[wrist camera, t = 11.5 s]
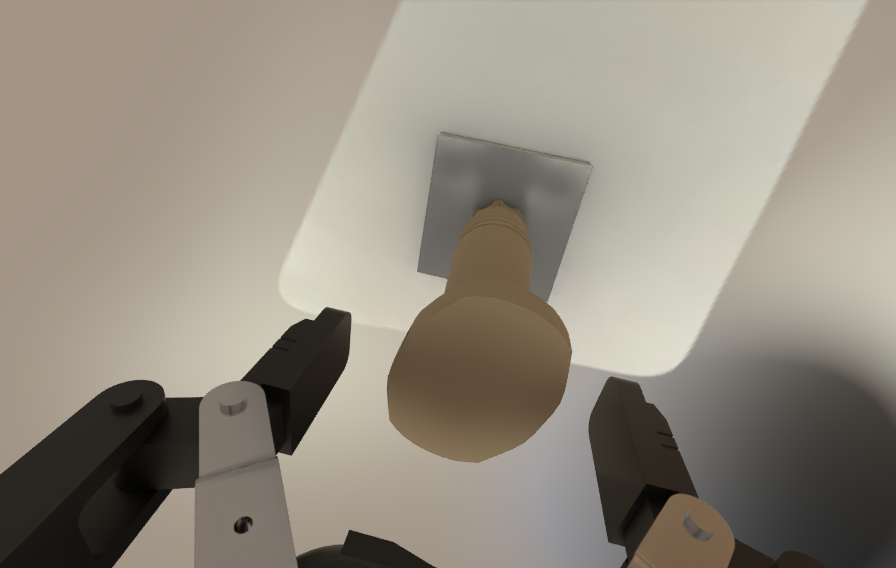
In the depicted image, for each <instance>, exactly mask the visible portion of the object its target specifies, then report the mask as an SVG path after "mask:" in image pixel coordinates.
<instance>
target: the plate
mask: <svg viewBox="0 0 896 568" xmlns="http://www.w3.org/2000/svg"><path fill="white" fill-rule="evenodd" d="M592 168H593V166H592V165H591V164H590V163H588V162H583V161H578V160H574V159H569V158H564V157H559V156H554V155H549V154H545V153H540V152H535V151H530V150H525V149H520V148H515V147H511V146H506V145H501V144H496V143H491V142H486V141H481V140H477V139H472V138H467V137H462V136H457V135H452V134H448V133H443V132H441V133H440V134H438V138H437V144H436V151H435V158H434V164H433V171H432V177H431V184H430V191H429V197H428V204H427V210H426V217H425V224H424V230H423V237H422V243H421V250H420V257H419V263H418V270H417V272H420V273H425V274H429V275H433V276H438V277H442V278H446V279H448V276H449V271H450V267H451V262H452V258H453V254H454V250H455V248H456V245H457V243H458V241H459V238H460V236H461V234H462V232H463V230H464V228H465V227H466V225H467V224H468V222H469V221H470V219H471V217H472V215H473V214H474V213H475V212H476V211H477V210H478V209H480V210H481V209H484V208H487V207H488V206H490V205H491V204H492V203H493V202H494V201H495V200H502V201H503V202H504V204H506V205H507V206H508V207H511V208H514V209H516V208H517V209H518V210H519V211H520V212H521V214H522V216H523V220H522V221H523V222H524V224H525V226H526V229H527V231H528V235H529V239H530V244H531V253H532V270H531V281H530V292H532V293H533V294H535V295H537V296H538V297H540V298H541V299H543V300H544V301H546V302H548V299H549V296H550V293H551V290H552V287H553V284H554V281H555V278H556V275H557V272H558V269H559V266H560V263H561V260H562V257H563V254H564V251H565V248H566V245H567V242H568V239H569V236H570V233H571V230H572V227H573V224H574V221H575V218H576V215H577V212H578V209H579V206H580V203H581V200H582V197H583V194H584V191H585V188H586V185H587V182H588V179H589V177H590V174H591V171H592Z"/></svg>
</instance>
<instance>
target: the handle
mask: <svg viewBox="0 0 896 568" xmlns="http://www.w3.org/2000/svg"><path fill="white" fill-rule="evenodd" d="M522 220H523V216H522V214H521V212H520V211H519V210H518V209H517V208H516V209H514V208H511V207H508V206H507V205H506V204H504V202H503V201H502V200H495V201H494V202H493V203H492V204H491V205H490V206H488V207H487V208H484V209H481V210H480V209H478V210H477V211H476V212H475V213H474V214H473V215H472V217H471V219H470V221H469V222H468V224H467V225H466V227H465V228H464V230H463V232H462V234H461V236H460V238H459V241H458V243H457V245H456V248H455V250H454V254H453V258H452V262H451V267H450V271H449V276H448V280H447V285H446V289H445V293H444V294H443V295H441V296H440V297H438V298H437V299H435V300H434V301H433V302H432V303H430V304H429V305H428V306H427V307H426V308H424V309H423V310H422V311H421V312H420V313H419V314H418V316H417V317H416V319H415V320H414V322H413V324H412V326H411V327H410V329H409V331H408V333H407V335H406V337H405V339H404V341H403V342H402V344H401V346H400V348H399V350H398V352H397V354H396V357H395V359H394V361H393V364H392V367H391V369H390V372H389V375H388V382H387V397H388V408H389V419H390V421H391V423H392V424H393V425H394V427H395V428H396V429H397V430H398V431H399V432H400V433H401V434H402V435H403V436H404V437H406V438H407V439H408V440H410V441H411V442H413V443H414V444H416V445H418V446H419V447H421V448H423V449H425V450H427V451H429V452H431V453H434V454H436V455H439V456H441V457H444V458H448V459H451V460H455V461H462V462H476V463H478V462H481V461H484V460H486V459H489V458H492V457H494V456H497V455H499V454H502V453H504V452H507V451H509V450H512V449H513V448H515V447H517V446H519V445H521V444H523V443H524V442H526V441H527V440H528V439H529V438H530V437H531V436H532V435H534V434H535V433H536V431H537V430H538V429H539V428H540V427H541V426H542V425H543V424H544V423H545V422H546V420H547V419H548V418H549V417H550V416H551V415H552V414H553V412H554V411H555V409H556V408H557V407H558V405H559V404H560V402H561V399H562V397H563V394H564V391H565V387H566V382H567V378H568V372H569V367H570V361H571V355H572V350H571V344H570V339H569V334H568V332H567V329H566V327H565V325H564V323H563V321H562V320H561V318H560V317H559V316H558V314H557V313H556V312H555V310H554V309H553V308H552V307H551V306H550V305H549V304H547V303H546V302H545V301H544V300H543V299H541V298H540V297H538V296H537V295H535V294H533V293H532V292H530V281H531V270H532V253H531V244H530V239H529V235H528V231H527V229H526V226H525V224H524V222H523V221H522Z"/></svg>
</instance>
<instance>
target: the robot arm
mask: <svg viewBox="0 0 896 568" xmlns="http://www.w3.org/2000/svg"><path fill="white" fill-rule="evenodd" d="M350 333H351V313H350V312H345V311H341V310H337V309H333V308H329V307H326V308H325V309H324V310H323V311H322V312H321V313H320V314H319V315H318V317H317V318H316V319H315V320H314V321H313V320H309V319H304V320H302V321H300V322H298V323H296V324H294V325H293V326H291V327H290V328H289V329H288V330H287V331H286V332H285V333H284V334H283V335H282V336H281V339H279V340H278V341H277V342H276V343H275V344H274V345H273V347H272V348H270V350H268V351H267V352H266V354H265V355H264V356H263V357H262V358H261V359H260V360H259V361H258V362H257V363H256V364H255V365H254V366H253V368H252V369H251V370H250V371H249V372H248V373H247V374H246V375H245V376H244V377H243V378H242V379H241V380H240V381H234V382H229V383H225V384H222V385H220V386H218V387H216V388H214V389H212V390H211V391H210V392H208V393H207V394H206V395H205V396H204V397H196V398H195V397H192V398H165V393H164V390H163V388H162V386H160V385H159V384H157V383H155V382H153V381H148V380H133V381H128V382H124V383H120V384H117V385H115V386H112V387H110V388H108V389H106V390H105V391H103V392H101V393H100V394H99V395H97V396H96V397H95V398H94V399H92V400H91V401H90V402H89V403H87V404H86V405H85V406H84V407H83V408H81V409H80V410H79V411H78V412H77V413H75V414H74V415H73V416H72V417H70V418H69V419H68V420H67V421H66V422H64V423H63V424H62V425H61V426H60V427H58V428H57V429H56V430H54V431H53V432H52V433H51V434H49V435H48V436H47V437H46V438H45V439H43V440H42V441H41V442H40V443H38V444H37V445H36V446H35V447H34V448H32V449H31V450H30V451H29V452H27V453H26V454H25V455H24V456H23V457H21V458H20V459H19V460H18V461H16V462H15V463H14V464H13V465H12V466H10V467H9V468H8V469H7V470H5V471H4V472H3V473H2V474H0V568H112V567H113V566H114V565H115V563H116V562H117V561H118V559H119V558H120V557H121V556H122V554H123V553H124V552H125V550H126V549H127V548H128V546H129V545H130V543H132V541H133V540H134V539H135V537H136V536H137V535H138V533H139V532H140V531H141V530H142V528H143V527H144V526H145V524H146V523H147V522H148V521H149V519H150V518H151V517H152V515H153V514H154V513H155V511H156V510H157V509H158V507H159V506H160V505H161V504H162V502H163V501H164V500H165V499H166V497H167V496H168V495H169V493H170V492H171V491H172V489H179V488H194V487H195V551H194V552H195V553H194V554H195V557H194V564H195V565H194V568H436V567H434V566H432V565H430V564H428V563H427V562H425V561H424V560H422V559H420V558H419V557H417V556H415V555H414V554H412V553H411V552H409V551H407V550H406V549H404V548H402V547H400V546H399V545H397V544H396V543H394V542H391V541H388V540H384V539H380V538H376V537H373V536H370V535H366V534H362V533H359V532H355V531H352V530H349V532H348V535H347V537H346V540H345V543H344V545H332V546H325V547H321V548H317V549H314V550H311V551H308V552H306V553H303V554H301V555H299V556H297V557H296V555H295V549H294V544H293V538H292V532H291V527H290V521H289V515H288V510H287V504H286V499H285V493H284V487H283V482H282V476H281V471H280V465H279V461H278V457H277V456H276V455H277V453H278V452H280V453H283V454H287V455H291V456H292V454H293V452H294V451H295V449H296V448H297V446H298V444H299V443H300V441H301V440H302V438H303V436H304V435H305V433H306V431H307V430H308V428H309V426H310V425H311V423H312V422H313V420H314V418H315V417H316V415H317V413H318V411H319V410H320V408H321V407H322V405H323V403H324V402H325V400H326V399H327V397H328V395H329V394H330V392H331V390H332V389H333V387H334V385H335V384H336V382H337V381H338V379H339V377H340V376H341V374H342V372H343V371H344V369H345V366H346V364H347V360H348V356H349V349H350ZM672 436H673V435H672V432H671V430H670V427H669V425H668V422H667V420H666V419H665V418H664V416H663V415H662V414H661V413H660V411H659V410H658V409H657V408H656V407H655V406H654V404H650V403H646V401H645V399H644V396H643V393H642V390H641V388H640V385H639V384H638V383H637V382H633V381H629V380H624V379H620V378H616V377H609V378H608V380H607V381H606V383H605V386H604V387H603V390H602V392H601V394H600V396H599V398H598V400H597V402H596V404H595V406H594V408H593V411H592V413H591V416H590V420H589V438H590V443H591V449H592V454H593V460H594V465H595V470H596V476H597V481H598V487H599V493H600V498H601V504H602V509H603V515H604V520H605V526H606V531H607V537H608V542H610V543H613V544H618V545H621V546H625V548H626V553H627V558H626V560H625V561H624V562H623V564H622V565H621V567H620V568H827V567H826V566H824V565H823V564H822V563H820V562H819V561H817V560H815V559H814V558H812V557H810V556H808V555H806V554H803V553H800V552H796V551H786V552H784V553H782V554H781V555H780V556H779V557H778V558H777V559H776V560H774V559H772V558H770V557H768V556H766V555H764V554H763V553H760V552H759V551H757V550H755V549H753V548H751V547H749V546H748V545H746V544H744V543H742V542H740V541H739V540H737V539H735V538H734V536H733V534H732V532H731V530H730V528H729V526H728V524H727V523H726V522H725V520H724V519H723V518H722V517H721V516H720V515H719V513H717V512H716V511H715V510H714V509H713V508H712V507H711V506H709V505H708V504H707V503H705V502H703V501H702V500H700V499H699V497H698V495H697V493H696V490H695V488H694V486H693V483H692V480H691V478H690V476H689V473H688V471H687V468H686V466H685V464H684V461H683V459H682V456H681V454H680V452H679V451H678V447H677V445H676V442H675V439H674V438H672Z"/></svg>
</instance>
